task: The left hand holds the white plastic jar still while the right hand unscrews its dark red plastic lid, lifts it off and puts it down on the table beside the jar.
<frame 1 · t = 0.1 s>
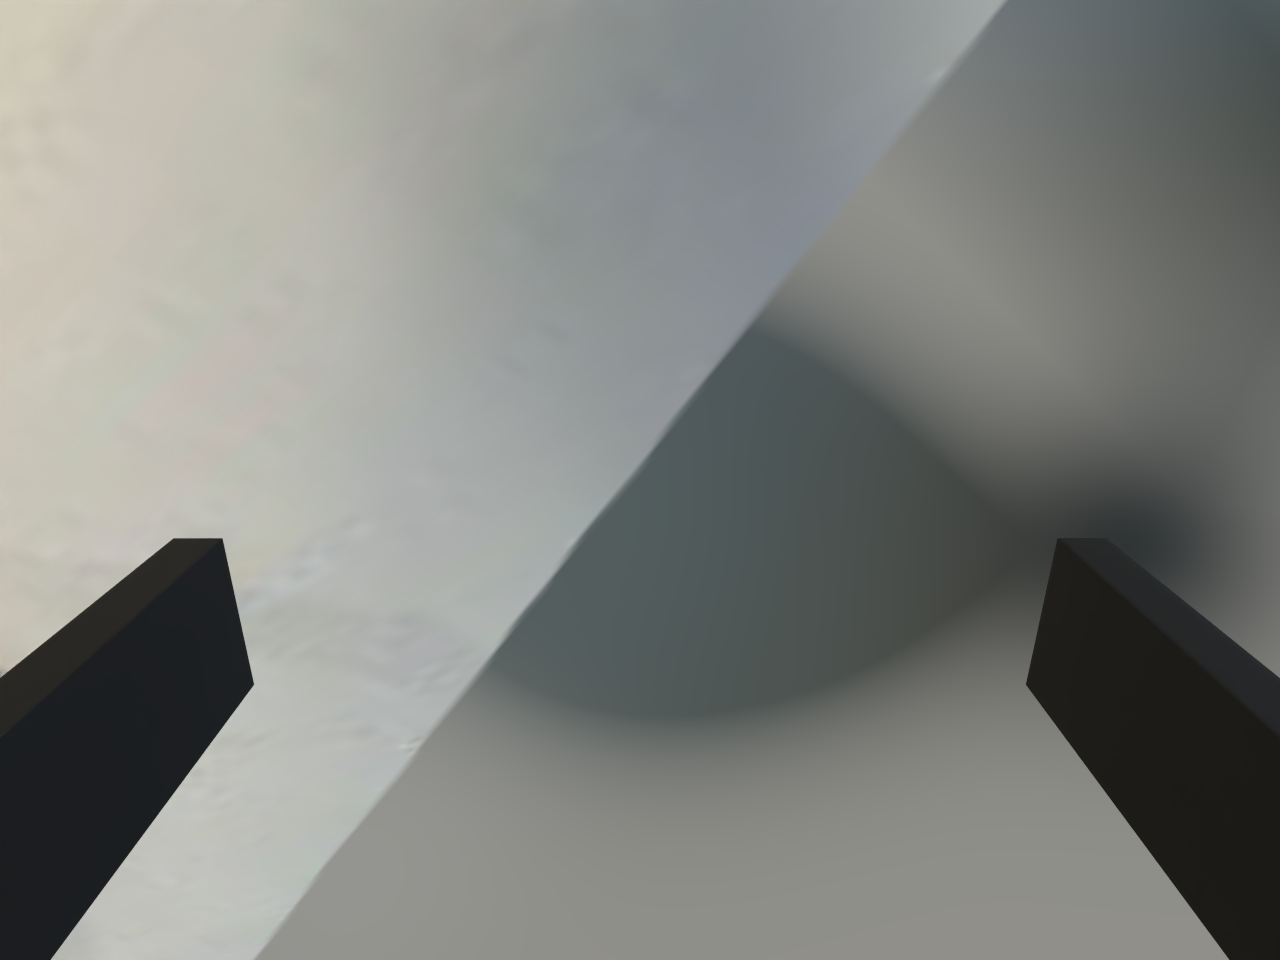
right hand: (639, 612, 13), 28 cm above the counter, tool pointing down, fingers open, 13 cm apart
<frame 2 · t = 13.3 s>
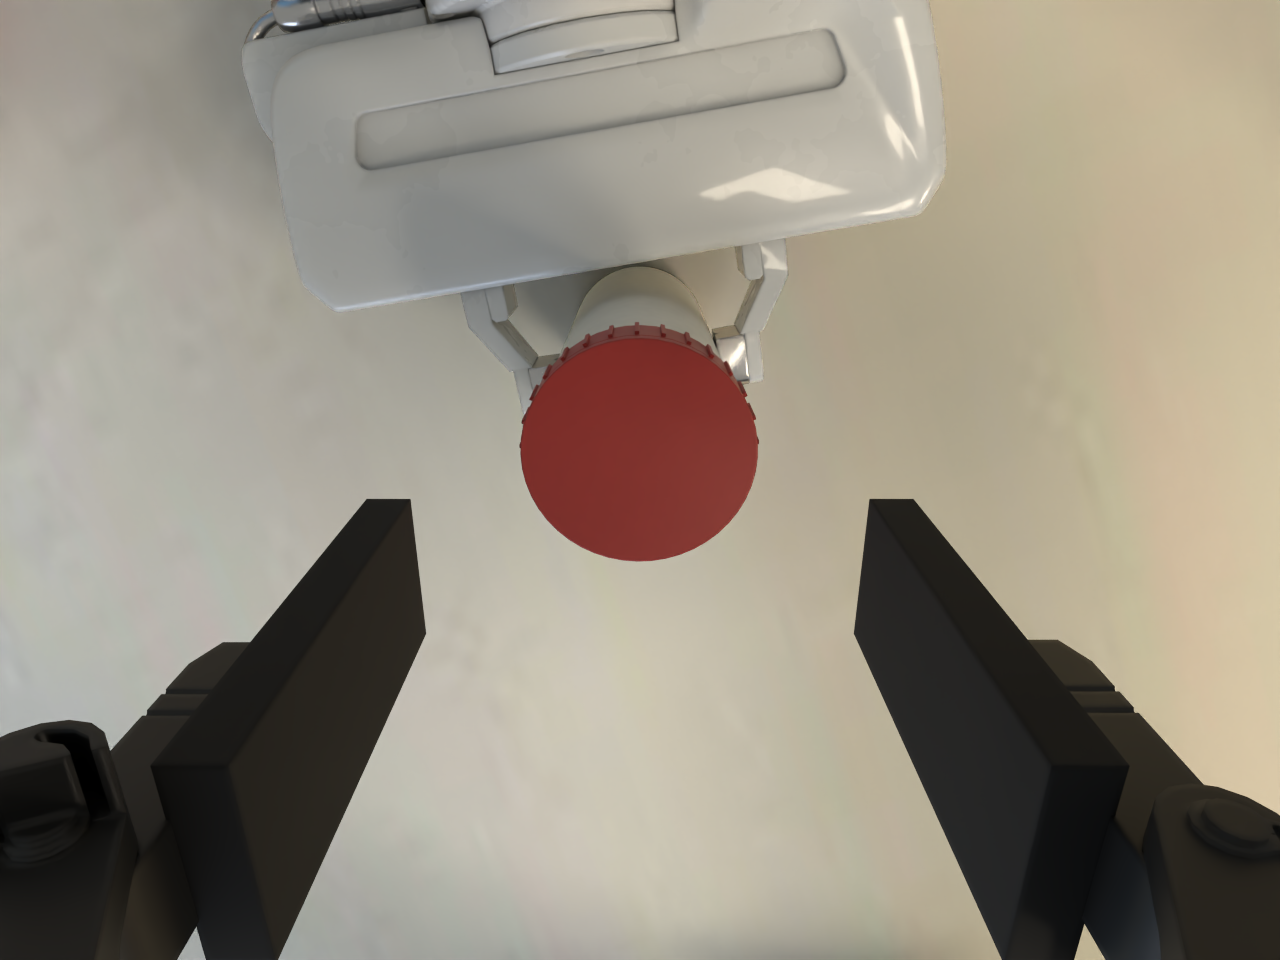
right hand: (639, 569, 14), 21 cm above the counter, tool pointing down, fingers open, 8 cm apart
left hand: (645, 395, 28), fingers closed on jar, 5 cm apart
lid: (639, 451, 20), point 15 cm above the counter, screwed on, not yet turned
jar: (639, 332, 34), on the counter, touching left hand
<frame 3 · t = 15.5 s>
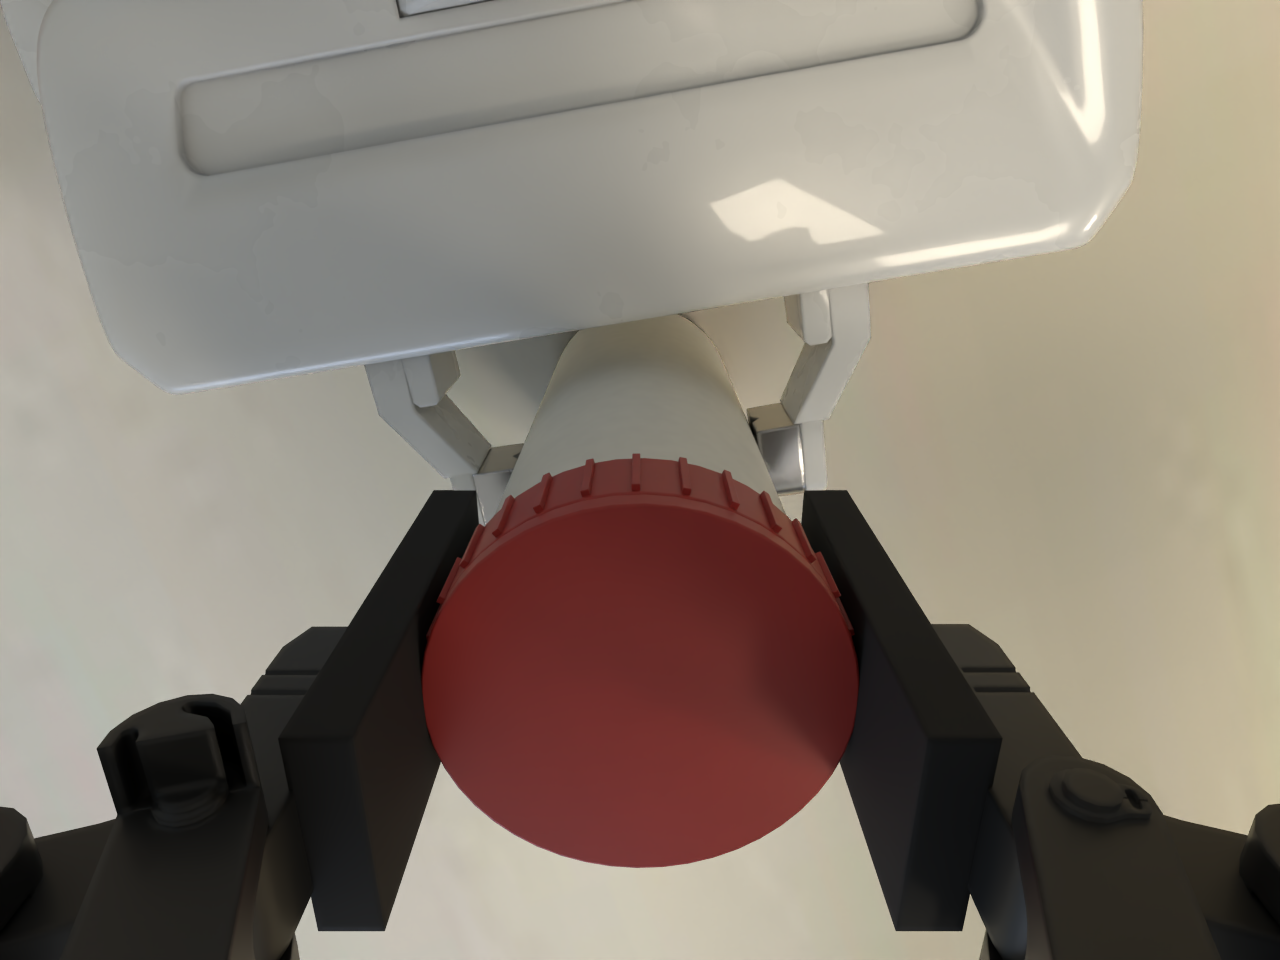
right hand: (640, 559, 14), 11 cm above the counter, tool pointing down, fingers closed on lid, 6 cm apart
left hand: (648, 507, 19), fingers closed on jar, 5 cm apart
lid: (640, 689, 11), point 15 cm above the counter, screwed on, not yet turned, touching right hand
jar: (640, 394, 25), on the counter, touching left hand
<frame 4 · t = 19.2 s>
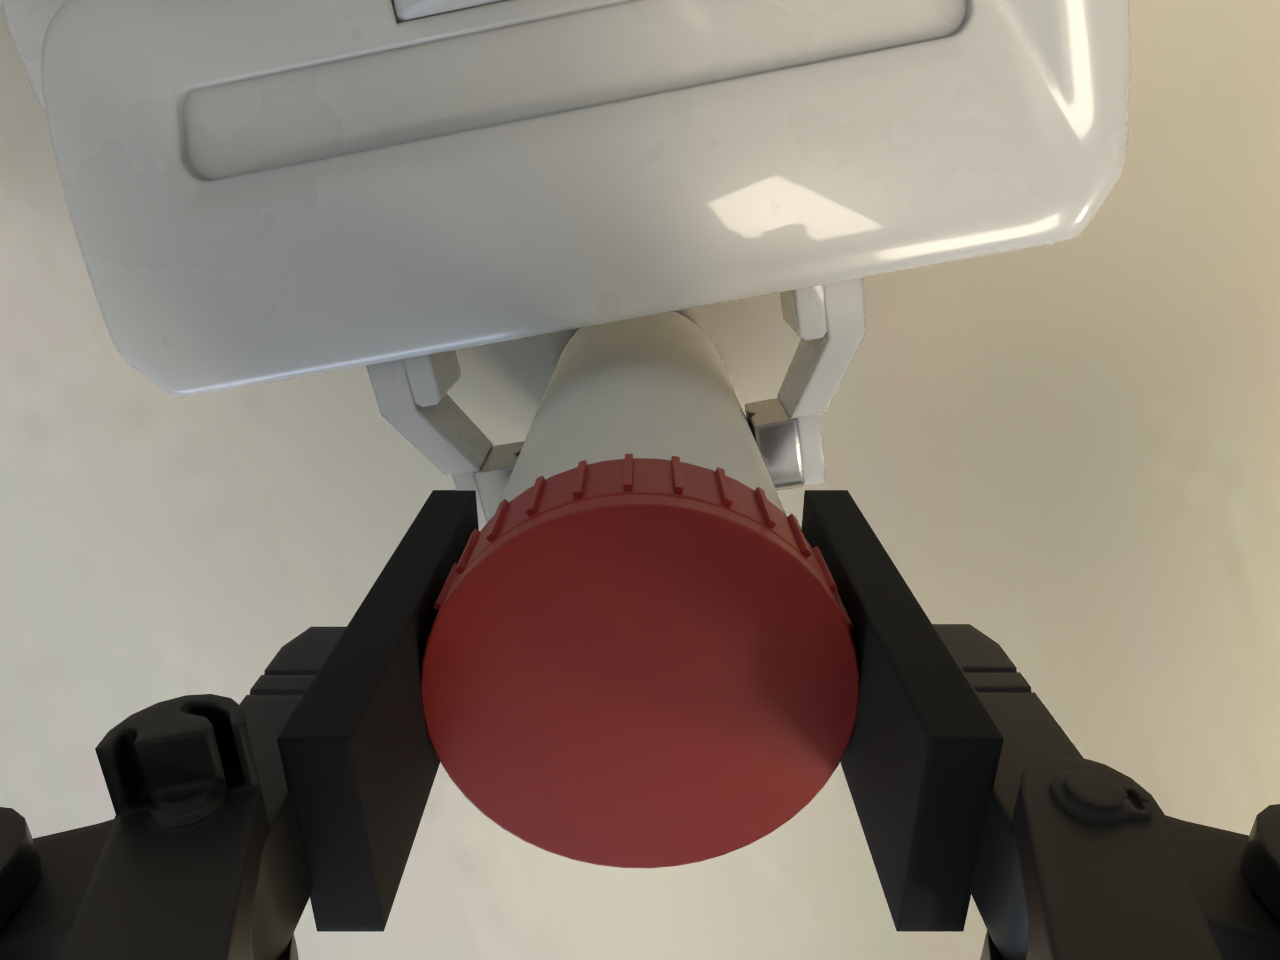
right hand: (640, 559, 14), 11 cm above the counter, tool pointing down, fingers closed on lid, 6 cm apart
left hand: (648, 503, 19), fingers closed on jar, 5 cm apart
lid: (640, 689, 11), point 15 cm above the counter, turned 138° so far, risen 0.2 cm, still on its thread, touching right hand
jar: (640, 391, 25), on the counter, touching left hand
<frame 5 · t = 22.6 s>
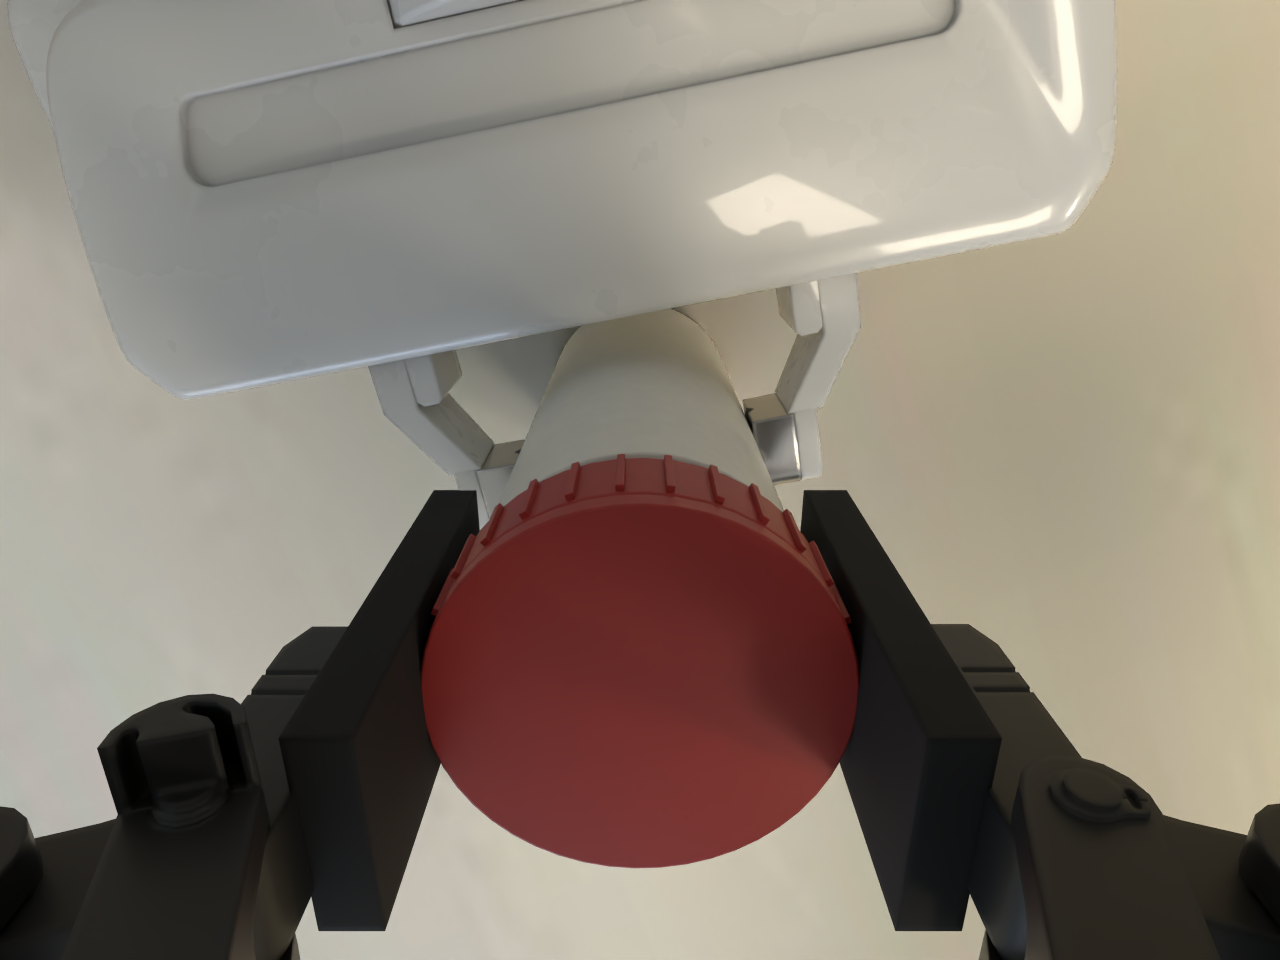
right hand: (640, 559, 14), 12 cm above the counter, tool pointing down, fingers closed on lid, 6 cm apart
left hand: (648, 498, 19), fingers closed on jar, 5 cm apart
lid: (639, 689, 11), point 16 cm above the counter, turned 275° so far, risen 0.5 cm, still on its thread, touching right hand
jar: (640, 389, 25), on the counter, touching left hand
when the right hand's fingers open (0 cm above the counter, at t = 34.2 s): lid drops 3 cm, point 1 cm above the counter.
when the left hand's fingers open (7 cm above the counter, at t = 35.4 s): jar stays where it is, on the counter.
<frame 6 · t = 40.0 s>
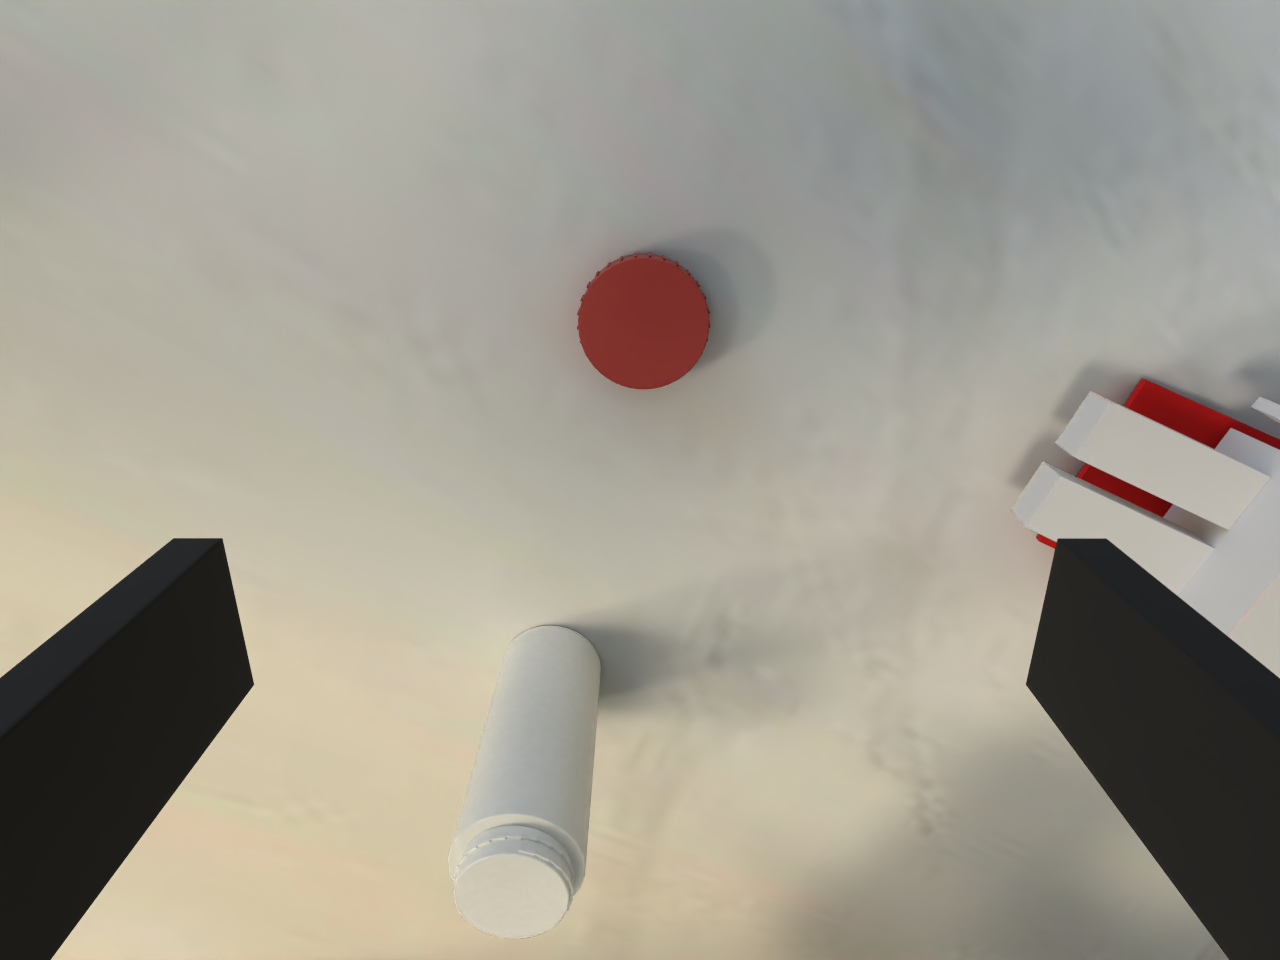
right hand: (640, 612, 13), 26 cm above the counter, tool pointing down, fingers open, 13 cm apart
lid: (643, 324, 36), point 1 cm above the counter, off its thread
toy: (1259, 543, 41), on the counter
jar: (551, 667, 44), on the counter
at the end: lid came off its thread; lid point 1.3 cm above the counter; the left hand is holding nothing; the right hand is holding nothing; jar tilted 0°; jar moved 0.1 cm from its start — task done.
